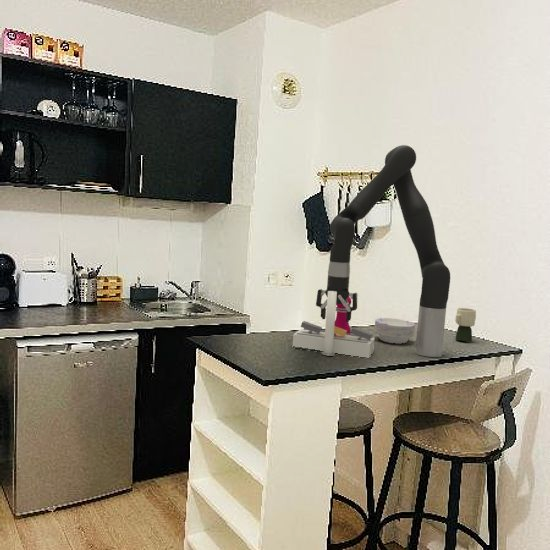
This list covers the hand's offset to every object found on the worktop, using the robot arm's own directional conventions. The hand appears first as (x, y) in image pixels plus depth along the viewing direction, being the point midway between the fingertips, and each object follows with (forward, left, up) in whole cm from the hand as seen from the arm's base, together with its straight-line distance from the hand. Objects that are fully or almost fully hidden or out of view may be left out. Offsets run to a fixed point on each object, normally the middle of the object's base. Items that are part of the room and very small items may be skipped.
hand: (335, 320), depth 197 cm
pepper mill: (0, -12, -11) cm, 16 cm away
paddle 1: (+9, 0, -4) cm, 10 cm away
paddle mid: (0, 0, -4) cm, 4 cm away
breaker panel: (0, 0, -11) cm, 11 cm away
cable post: (0, +8, -11) cm, 14 cm away
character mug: (-44, -43, -11) cm, 62 cm away
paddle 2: (-9, 0, -4) cm, 10 cm away
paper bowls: (-18, -27, -11) cm, 34 cm away
